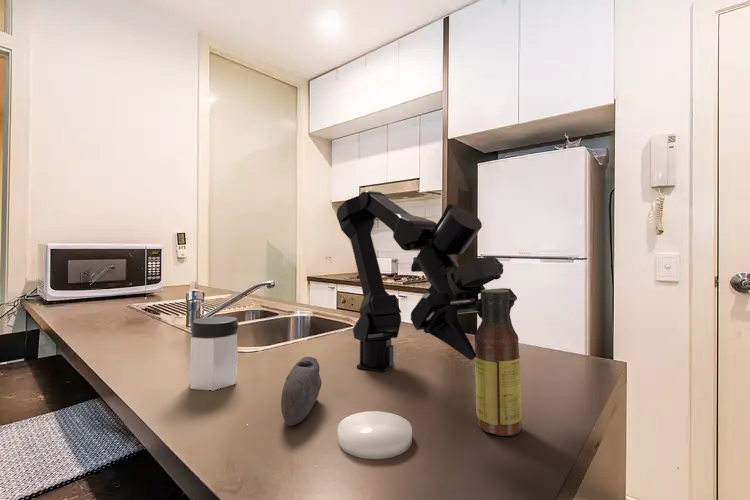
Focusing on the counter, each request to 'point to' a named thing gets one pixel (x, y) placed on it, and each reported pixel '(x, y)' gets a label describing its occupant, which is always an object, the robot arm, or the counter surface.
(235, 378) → the jar
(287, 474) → the counter surface
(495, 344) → the sauce bottle
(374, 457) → the coaster
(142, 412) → the counter surface
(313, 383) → the perforated stone tool
